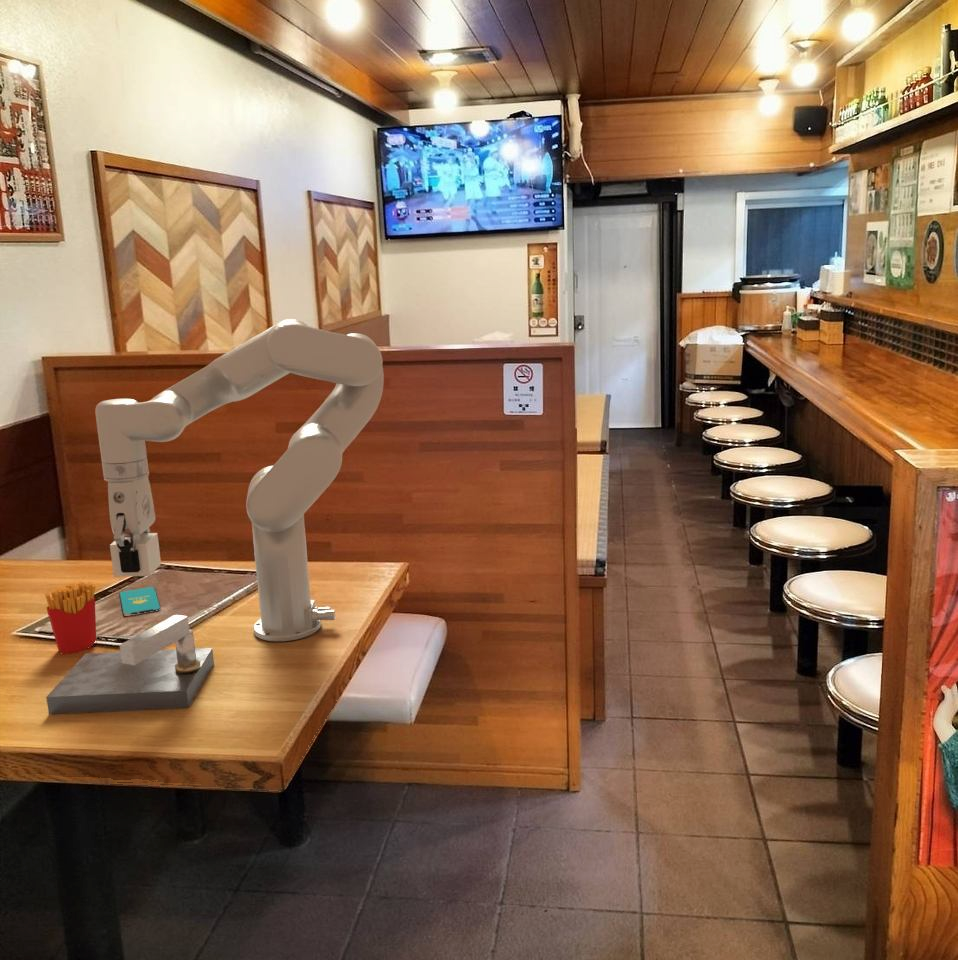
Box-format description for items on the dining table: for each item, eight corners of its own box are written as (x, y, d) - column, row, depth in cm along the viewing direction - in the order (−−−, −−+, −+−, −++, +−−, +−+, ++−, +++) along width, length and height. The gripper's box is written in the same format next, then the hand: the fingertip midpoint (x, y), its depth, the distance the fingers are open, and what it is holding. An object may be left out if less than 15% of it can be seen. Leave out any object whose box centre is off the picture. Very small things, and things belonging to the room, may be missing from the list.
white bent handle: (186, 660, 155) (180, 609, 152) (205, 664, 153) (199, 612, 151) (123, 699, 142) (115, 644, 140) (143, 703, 140) (136, 647, 138)
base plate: (214, 663, 161) (212, 647, 160) (188, 707, 145) (186, 690, 144) (88, 669, 160) (85, 653, 160) (49, 714, 145) (46, 697, 144)
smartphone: (154, 585, 199) (161, 608, 186) (154, 589, 199) (161, 611, 186) (118, 592, 196) (123, 615, 183) (119, 595, 197) (123, 619, 183)
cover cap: (161, 563, 170) (157, 532, 168) (150, 575, 164) (146, 543, 162) (126, 565, 170) (122, 534, 168) (113, 577, 163) (109, 545, 162)
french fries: (57, 657, 166) (47, 594, 163) (51, 650, 169) (41, 589, 166) (105, 643, 171) (96, 582, 168) (98, 637, 174) (90, 577, 171)
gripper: (130, 480, 154) (142, 581, 158) (162, 457, 170) (172, 549, 175) (85, 481, 153) (99, 582, 158) (121, 459, 170) (132, 550, 175)
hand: (137, 564), depth 166 cm, fingers closed on cover cap, 6 cm apart
